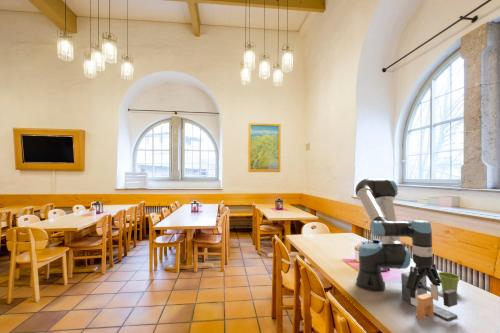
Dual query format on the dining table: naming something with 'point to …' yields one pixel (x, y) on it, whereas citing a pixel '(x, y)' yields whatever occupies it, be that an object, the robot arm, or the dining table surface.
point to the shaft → (444, 295)
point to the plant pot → (448, 281)
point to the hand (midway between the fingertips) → (424, 302)
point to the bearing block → (406, 294)
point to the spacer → (424, 306)
